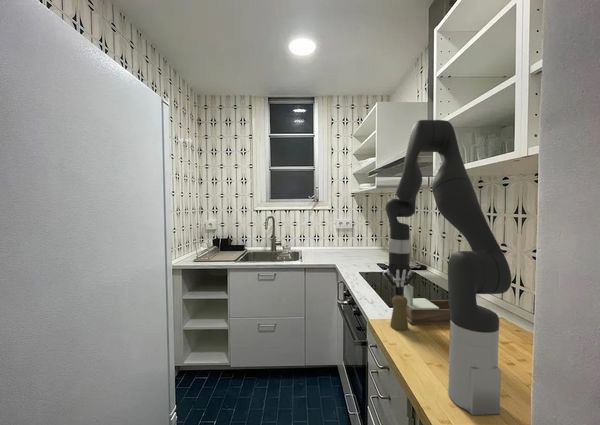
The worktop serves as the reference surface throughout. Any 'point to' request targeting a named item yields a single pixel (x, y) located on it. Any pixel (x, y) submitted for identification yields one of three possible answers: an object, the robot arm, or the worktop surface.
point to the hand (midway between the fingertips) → (398, 296)
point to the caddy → (430, 314)
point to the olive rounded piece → (399, 313)
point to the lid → (417, 300)
